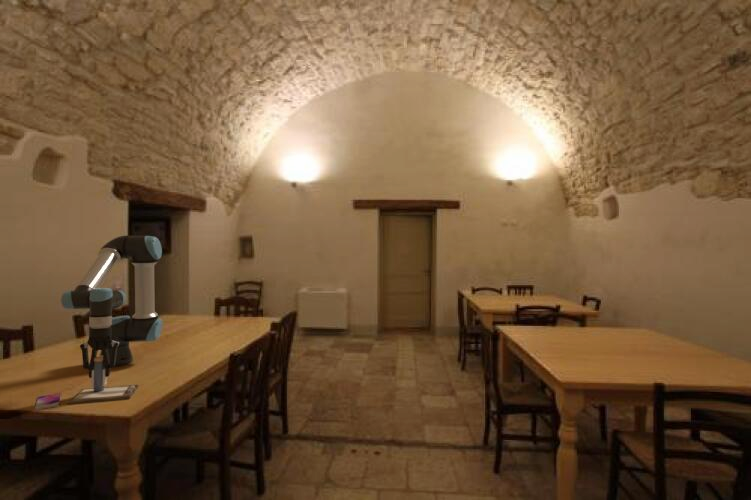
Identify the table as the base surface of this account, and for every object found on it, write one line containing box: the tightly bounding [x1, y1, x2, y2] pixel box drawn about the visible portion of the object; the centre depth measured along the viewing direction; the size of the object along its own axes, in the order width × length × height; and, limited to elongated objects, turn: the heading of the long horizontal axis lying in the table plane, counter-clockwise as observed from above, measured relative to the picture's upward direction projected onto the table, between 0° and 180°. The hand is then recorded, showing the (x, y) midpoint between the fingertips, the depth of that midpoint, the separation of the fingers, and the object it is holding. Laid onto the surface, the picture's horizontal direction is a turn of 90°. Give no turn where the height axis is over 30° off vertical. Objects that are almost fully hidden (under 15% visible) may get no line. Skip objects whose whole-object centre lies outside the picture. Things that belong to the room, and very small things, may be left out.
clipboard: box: [67, 384, 139, 405], centre depth 160 cm, size 14×20×2 cm
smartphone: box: [33, 392, 62, 411], centre depth 152 cm, size 7×1×15 cm
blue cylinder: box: [93, 355, 105, 392], centre depth 161 cm, size 4×4×14 cm
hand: (99, 385), depth 161 cm, fingers closed on blue cylinder, 3 cm apart
